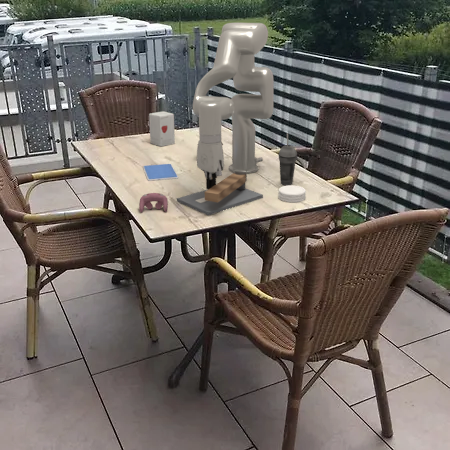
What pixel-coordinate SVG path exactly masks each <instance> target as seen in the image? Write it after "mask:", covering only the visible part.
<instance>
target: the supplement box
mask: <svg viewBox="0 0 450 450" xmlns="http://www.w3.org/2000/svg"><path fill="white" fill-rule="evenodd" d="M148 118H149V119H148V121H149V138H150V139H149V140H150V142H149V143H150V144H152V145H155V146H158V147H165V146H170V145H174V144H176V143H175V142H176V141H175V134H176V133H175V114H174V113H172V112H167V111H164V110H163V111H157V112H152V113H151V112H150V113H149V114H148Z"/></svg>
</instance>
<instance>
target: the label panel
mask: <svg viewBox="0 0 450 450" xmlns="http://www.w3.org/2000/svg"><path fill="white" fill-rule="evenodd" d="M207 190H208V189H204V190H201V191H197V192H195V193H194V192H193V193H191V194H186V195H183V196H179V197H177V198H176V202H177V203H180V204H181V205H183V206H186V207H188V208H191V209H193V210H195V211H197V212H198V213H199V212H200V213H201V214H204V215H206V216H211V215H215V214H217V213H220V211H221V212H223V210H224V211H227V210H229V208H230V209H233V208H236V207H239V206H242V205H245V204H247V203H251V202H254V201H257V200H260V199H263V198H264V194H262V193H260V192H256V191H255V190H251V189H248V188H247V187H246V183H244V184H243V185H241V186H240V187H239V188H237V189H236V190H234V191H233V192H232V193H230V194H229V195H228V196H226V197H225V198H223V199H222V200H221V201H219V202H212V201H206V200H205V191H207ZM235 206H236V207H235ZM232 207H233V208H232ZM226 209H227V210H226Z"/></svg>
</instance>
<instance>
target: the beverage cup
mask: <svg viewBox="0 0 450 450" xmlns="http://www.w3.org/2000/svg"><path fill="white" fill-rule="evenodd" d="M297 158H298V151H297V150H296V147H294V146H293V145H291V144H289V133H288V132H287V133H286V145H283V146H282V147H281V148H280V149H279V151H278V160H279V161H278V162H279V177H280V185H281V184H282V186H284V185H286V186H287V185H293V181H294V175H295V167H296V162H297Z"/></svg>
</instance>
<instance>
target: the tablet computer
mask: <svg viewBox="0 0 450 450" xmlns="http://www.w3.org/2000/svg"><path fill="white" fill-rule="evenodd" d="M142 169H143V171H144V174H145V177H146V179H147V181H148V182H153V181H156V182H157V181H164V180H165V181H167V180H177V179H179V176H178V173H177V171H176V170H175V168H174V166H173V164H172V163H163V164H151V165H143V166H142Z"/></svg>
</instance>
